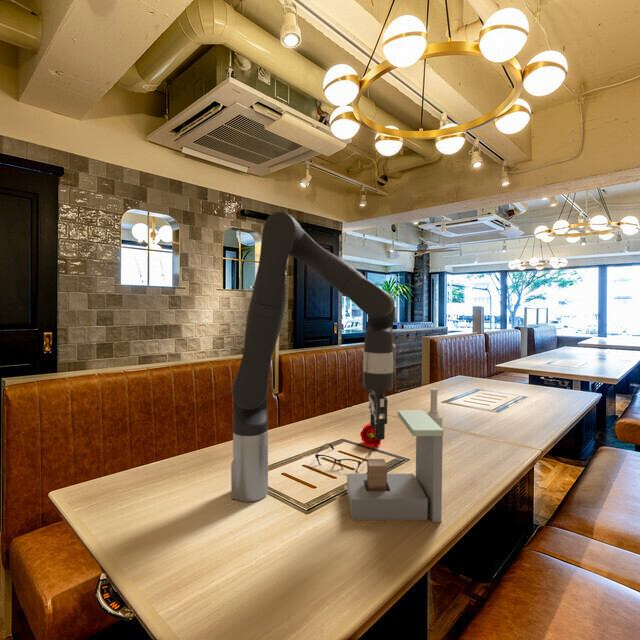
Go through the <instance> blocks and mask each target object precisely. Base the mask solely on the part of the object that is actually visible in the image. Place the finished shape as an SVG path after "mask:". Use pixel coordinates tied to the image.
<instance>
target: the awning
mask: <svg viewBox="0 0 640 640" xmlns="http://www.w3.org/2000/svg"><path fill="white" fill-rule="evenodd" d="M427 413H428V412H426V411H425V410H422V409H419V410H415V409H414V410H413V409H412V410H411V409H409V410H408V409H407V410H403V409H402V410H401V409H400V410H397V416H398V418H399V419H400V420H401V422H402V423H403V424H404V426H405V427H406V429H407V430H408V431H409V433H410V434H411V435H412V436H413V437H416V438H415V478H416V480H417V481H418V483H419V485H420V487H421V488H422V490H423V492H424V494H425V495H426V497H427V499H428V512H427V515H428V516H429V517H430V519H431V521H432V523H442V510H443V509H442V506H443V505H442V503H443V501H442V500H443V499H442V498H443V496H442V495H443V492H442V490H443V439H444V438H443V437H444V429H443V427H442V428H441V427H440V426H439V425H438V424H437V423H436V422H435V421H434V420H433V419H432V418H431V417H430V416H429V415H428V414H427Z"/></svg>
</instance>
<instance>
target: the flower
mask: <svg viewBox="0 0 640 640" xmlns="http://www.w3.org/2000/svg"><path fill="white" fill-rule="evenodd" d="M359 435H360V437H361V441H362V442H363V445H364V446H365V447H366V448H368V447H370V448H373V447H374V446H375V447H379V446H380V445H381V441H382V440H377V439H376V438H375V429H372V428H371V427H370V422H369V423H367V424H365V425H364V426H363V427H362V430H361V431H360V433H359Z"/></svg>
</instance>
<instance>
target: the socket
mask: <svg viewBox="0 0 640 640" xmlns="http://www.w3.org/2000/svg"><path fill="white" fill-rule="evenodd" d="M346 493H347V494H346V495H347V500H348V501H347V502H348V505H349V513H350V518H351V521H399V520H400V521H405V520H406V521H407V520H408V521H409V520H410V521H411V520H413V521H417V520H418V521H423V520H424V521H425V520H428V499H427V497H426V495H425V494H424V492H423V490H422V488H421V487H420V485H419V483H418V481H417V480H416V475H415V474H414V473H387V491H367V473H346Z"/></svg>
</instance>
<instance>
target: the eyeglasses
mask: <svg viewBox="0 0 640 640" xmlns="http://www.w3.org/2000/svg"><path fill="white" fill-rule="evenodd" d="M325 445H326V443H324V444H323V445H322V446H321V447H320V448H319V449H318V451H317V452H316V453H315V455H314V457H315V458H316V460H317V463H318V465H319V466H322V464H321V463H320V460H319V457H325V458H326V457H327V458H329V459H332V460H334V463H333V465H332V466H331V468H334V467H335V465H337V462H338V464H339V466H340V468H341V469H342V470H343V469H344V467H343V466H342V464H341V461H352V462H356V463H357V468H356V470H355V472H357V471H358V469H359V467H361V465H362V464H363V463H364V461H365V460H366V459H368V456H371V455H372V454H371V453H372V451H373V450H372V449H370V451H369V452H368V454H367V455H366V456H365V458H363V460H362V461H360V460H357V459H351V458H340V459H336V458H334V457H332V456H329V455H325V454H318V453H319V452H320V451H321V450H322V448H323V447H324V446H325ZM327 445H329V446H330V448H331V450H333V449H334V450H335V447H334V446H333V445H332V444H330V443H327ZM334 450H333V451H334Z"/></svg>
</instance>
